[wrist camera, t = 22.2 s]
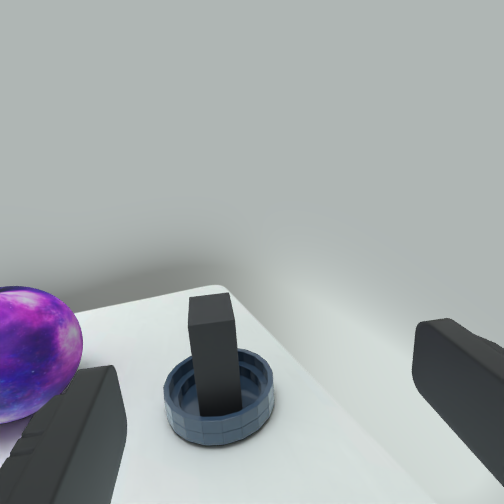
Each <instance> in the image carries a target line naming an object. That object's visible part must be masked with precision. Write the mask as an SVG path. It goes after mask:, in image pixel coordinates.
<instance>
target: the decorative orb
mask: <svg viewBox="0 0 504 504" xmlns="http://www.w3.org/2000/svg"><path fill="white" fill-rule="evenodd" d="M82 350H83V338H82V332H81V328H80V325H79V322H78V320H77V318H76V316H75V315H74V313H73V312H72V311H71V310H70V308H69V307H68V306H67V305H66V304H64V302H62V301H61V300H60V299H58V298H57V297H55V296H53V295H51V294H49V293H47V292H45V291H42V290H39V289H34V288H30V287H22V286H7V287H0V424H2V423H7V422H12V421H15V420H18V419H21V418H24V417H26V416H29V415H31V414H33V413H35V412H37V411H38V410H39V409H40V408H41V407H42V406H43V405H45V404H46V403H47V402H48V401H49V400H50V399H51V398H52V397H53V396H54V395H59V394H60V393H61V392H62V391H63V390H64V389H65V388H66V387H67V385H68V384H69V383H70V381H71V380H72V378H73V376H74V375H75V373H76V371H77V368H78V366H79V363H80V360H81V356H82Z"/></svg>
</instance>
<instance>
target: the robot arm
mask: <svg viewBox="0 0 504 504" xmlns="http://www.w3.org/2000/svg"><path fill="white" fill-rule="evenodd" d="M412 376H413V380H414V383H415V386H416V388H417V389H418V391H419V393H420V394H421V395H422V396H423V398H424V399H425V400H426V401H427V402H428V403H429V404H430V405H431V406H432V407H433V409H434V410H435V411H436V412H437V413H438V414H439V415H440V416H441V418H442V419H443V420H444V421H445V422H446V423H447V424H448V425H449V427H451V429H452V430H453V431H454V432H455V433H456V434H457V435H458V437H459V438H460V439H461V440H462V441H463V442H464V443H465V444H466V445H467V446H468V448H469V449H470V450H471V451H472V452H473V453H474V454H475V456H477V458H478V459H479V460H480V461H481V462H482V463H483V464H484V465H485V467H486V468H487V469H488V470H489V471H490V472H491V473H492V474H493V476H494V477H495V478H496V479H497V480H498V481H499V482H500V483H501V484H502V486H503V487H504V348H502V347H500V346H499V345H498V344H496V343H494V342H491V341H489V340H487V339H484V338H482V337H479V336H477V335H475V334H473V333H471V332H470V331H468V330H467V329H466V328H464V327H462V326H461V325H459V324H458V323H457V322H455V321H454V320H452V319H449V318H444V319H438V320H431V321H423V322H420V323H419V324H418V325H417V327H416V332H415V342H414V352H413V364H412ZM126 436H127V419H126V413H125V408H124V404H123V399H122V395H121V390H120V386H119V382H118V377H117V373H116V370H115V368H114V366H113V365H108V366H101V367H94V368H87V369H80V370H78V371H77V373H76V374H75V376H74V378H73V380H72V382H71V383H70V385H69V387H68V389H67V391H66V393H65V394H60V395H54V396H53V397H52V398H51V399H50V400H49V401H48V402H47V403H46V404H45V405H43V406H42V407H41V408H40V409H39V410H38V411H37V412H36V413H35V414H34V415H33V417H32V418H31V420H30V422H29V423H28V425H27V427H26V428H25V430H24V431H23V433H22V437H21V439H18V441H17V443H16V444H15V446H14V447H13V449H12V451H11V452H10V457H8V458H7V459H6V460H5V462H4V463H3V465H2V467H1V468H0V504H110V503H111V499H112V495H113V491H114V487H115V483H116V479H117V475H118V471H119V467H120V463H121V459H122V455H123V451H124V447H125V443H126Z"/></svg>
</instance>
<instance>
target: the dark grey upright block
mask: <svg viewBox="0 0 504 504" xmlns="http://www.w3.org/2000/svg"><path fill="white" fill-rule="evenodd" d="M188 331H189V339H190V346H191V353H192V361H193V368H194V375H195V383H196V390H197V397H198V405H199V412H200V416H202V417H213V416H224V415H228V414H232V413H235V412H239V411H240V410H242V409H243V407H242V396H241V384H240V373H239V361H238V350H237V339H236V327H235V318H234V314H233V309H232V304H231V300H230V295H229V293H221V294H212V295H204V296H196V297H189V313H188Z"/></svg>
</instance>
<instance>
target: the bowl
mask: <svg viewBox="0 0 504 504" xmlns="http://www.w3.org/2000/svg"><path fill="white" fill-rule="evenodd" d="M237 350H238V361H239V373H240V384H241V396H242V407H243V409H242V410H240V411H239V412H235V413H232V414H228V415H224V416H213V417H202V416H200V412H199V405H198V397H197V390H196V383H195V375H194V368H193V361H192V356H190V357H188V358H187V359H185V360H184V361H182V362H181V363H179V364H178V365H176V367H175V368H174V369H173V370H172V371H171V372H170V374H169V375H168V377H167V379H166V382H165V384H164V387H163V389H164V400H165V406H166V412H167V418H168V421H169V423H170V425H171V426H172V428H173V430H174V431H175V433H177V434H178V435H180V436H181V437H183V438H184V439H186V440H187V441H190V442H194V443H198V444H201V445H224V444H228V443H232V442H235V441H238V440H242V439H244V438H246V437H247V436H249V435H251V434H252V433H254V432H255V431H257V430H258V429H259V428H260V427H261V426H262V425H263V424H264V423H265V422H266V420H267V419H268V418H269V417H270V414H271V412H272V409H273V406H274V389H273V372H272V370H271V368H270V366H269V365H268V363H267V361H266V360H264V359H263V358H262V357H260V356H259V355H258V354H256V353H253V352H251V351H248V350H245V349H239V348H237Z"/></svg>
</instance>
